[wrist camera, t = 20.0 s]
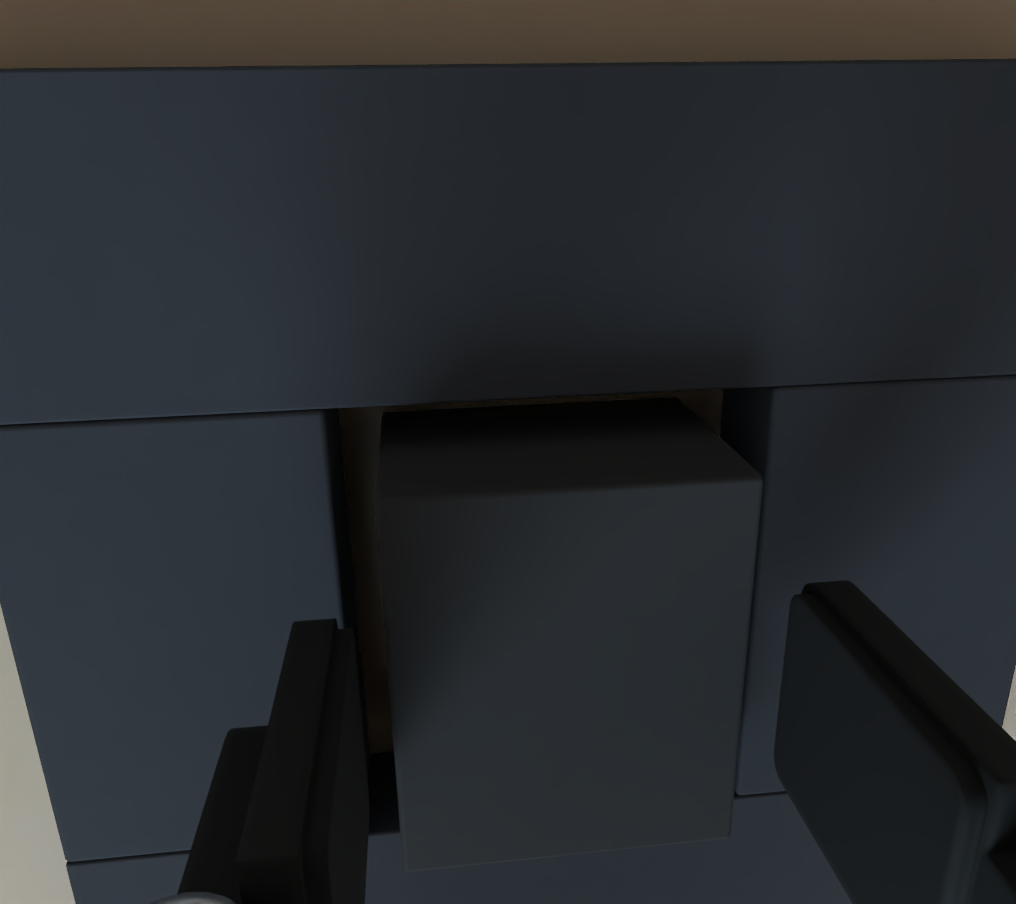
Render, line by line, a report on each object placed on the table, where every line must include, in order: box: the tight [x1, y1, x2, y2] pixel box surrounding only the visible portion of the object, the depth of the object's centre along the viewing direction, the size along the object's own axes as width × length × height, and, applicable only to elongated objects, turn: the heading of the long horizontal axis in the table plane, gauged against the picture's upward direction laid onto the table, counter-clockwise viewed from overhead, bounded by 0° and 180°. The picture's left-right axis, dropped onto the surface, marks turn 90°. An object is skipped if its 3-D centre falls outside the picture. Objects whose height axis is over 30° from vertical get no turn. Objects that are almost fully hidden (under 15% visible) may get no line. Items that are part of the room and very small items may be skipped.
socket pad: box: [0, 59, 1016, 904], centre depth 14 cm, size 16×16×2 cm
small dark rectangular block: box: [374, 397, 763, 872], centre depth 13 cm, size 6×5×4 cm
